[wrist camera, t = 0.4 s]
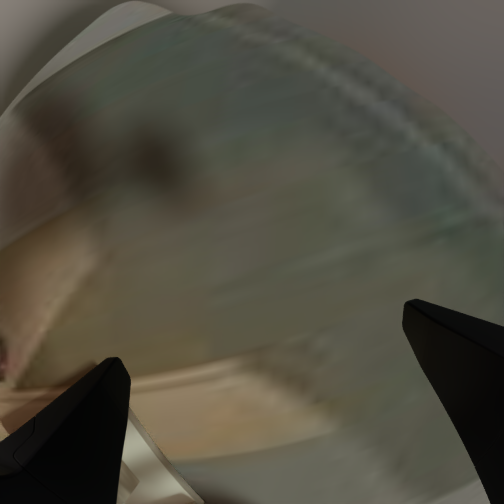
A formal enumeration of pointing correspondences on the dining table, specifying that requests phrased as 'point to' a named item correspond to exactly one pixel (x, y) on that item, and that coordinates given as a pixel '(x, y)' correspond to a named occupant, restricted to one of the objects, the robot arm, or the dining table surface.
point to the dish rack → (149, 472)
